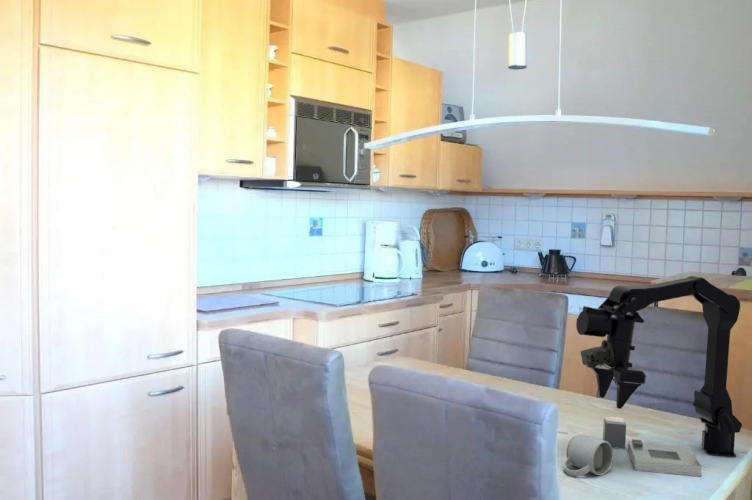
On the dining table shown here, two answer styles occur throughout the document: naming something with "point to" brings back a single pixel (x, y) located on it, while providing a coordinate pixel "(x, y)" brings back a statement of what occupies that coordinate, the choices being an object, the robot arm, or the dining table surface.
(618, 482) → the dining table surface
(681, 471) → the socket plate
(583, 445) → the ceramic mug
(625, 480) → the dining table surface
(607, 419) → the plug
